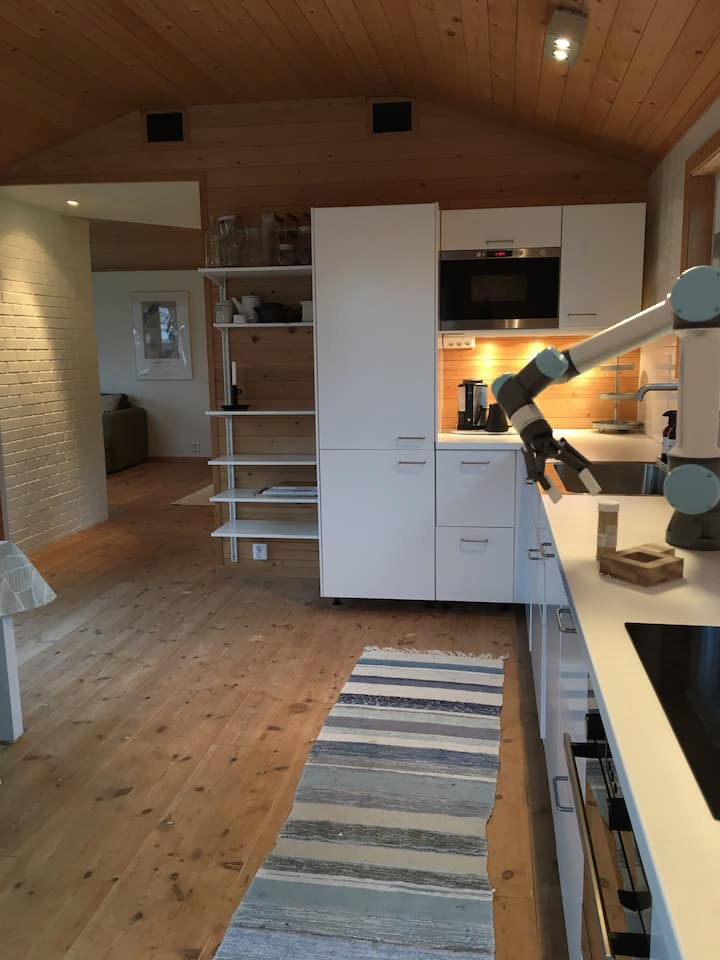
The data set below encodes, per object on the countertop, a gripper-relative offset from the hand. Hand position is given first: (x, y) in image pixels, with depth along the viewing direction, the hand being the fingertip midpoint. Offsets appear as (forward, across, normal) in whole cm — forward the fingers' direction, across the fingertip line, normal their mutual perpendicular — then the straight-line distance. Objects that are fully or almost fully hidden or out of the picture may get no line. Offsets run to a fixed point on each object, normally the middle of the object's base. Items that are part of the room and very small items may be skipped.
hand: (578, 496), depth 179 cm
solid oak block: (+22, -6, +3) cm, 22 cm away
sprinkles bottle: (+15, 0, -4) cm, 16 cm away
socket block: (+24, +4, +5) cm, 24 cm away
